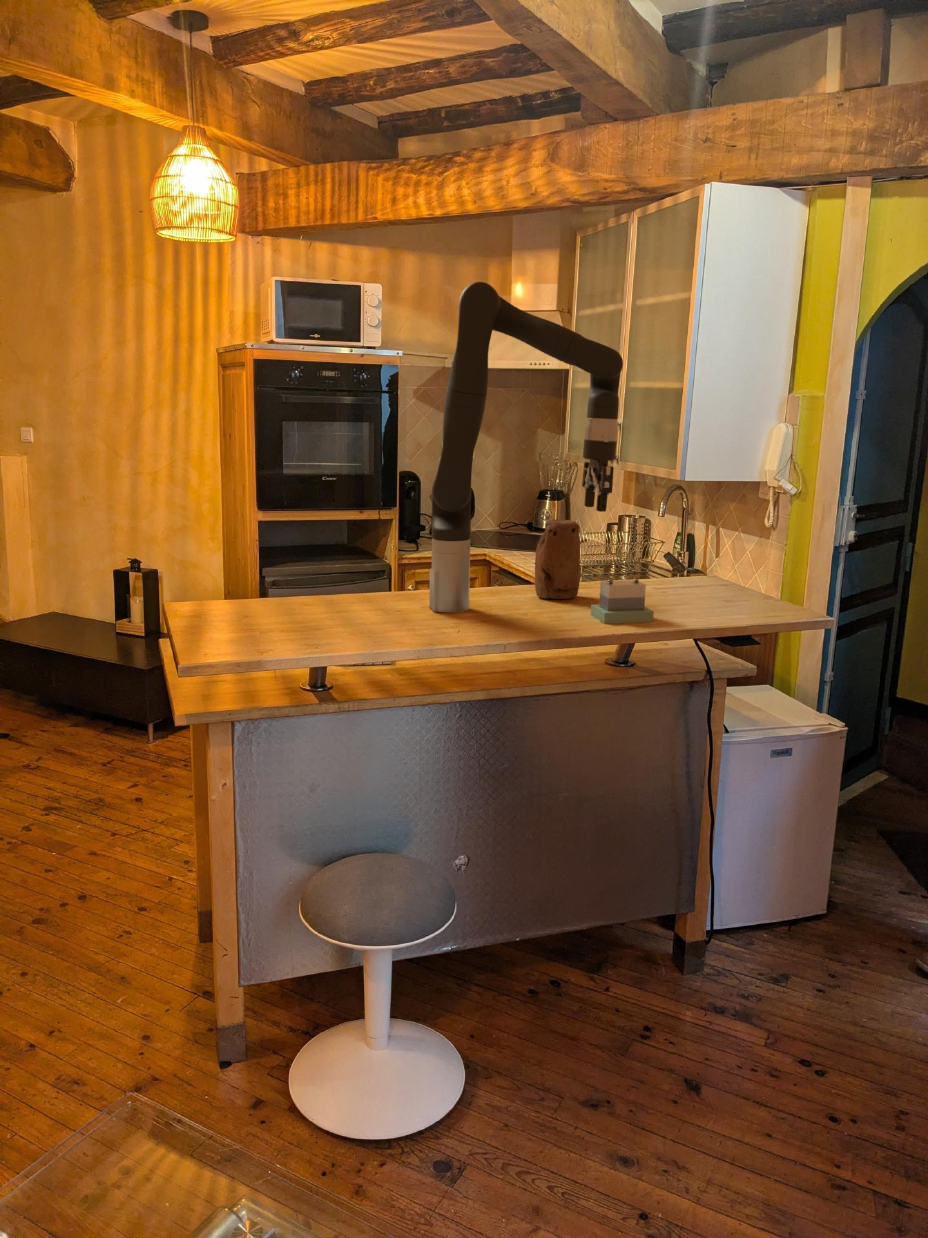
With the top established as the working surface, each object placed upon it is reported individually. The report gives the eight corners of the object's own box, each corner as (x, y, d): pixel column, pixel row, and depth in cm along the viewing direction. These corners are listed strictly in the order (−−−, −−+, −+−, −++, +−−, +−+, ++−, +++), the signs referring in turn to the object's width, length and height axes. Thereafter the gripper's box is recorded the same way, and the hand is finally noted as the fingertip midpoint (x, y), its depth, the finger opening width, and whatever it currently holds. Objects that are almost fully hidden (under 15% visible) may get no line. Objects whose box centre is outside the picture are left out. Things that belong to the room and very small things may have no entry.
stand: (604, 623, 218) (604, 612, 217) (590, 615, 226) (591, 604, 226) (653, 621, 220) (653, 611, 220) (638, 613, 229) (638, 603, 228)
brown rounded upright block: (569, 593, 251) (573, 518, 246) (581, 599, 244) (584, 521, 239) (531, 595, 248) (533, 519, 243) (541, 601, 241) (544, 522, 236)
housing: (607, 611, 219) (609, 582, 218) (599, 606, 224) (600, 578, 223) (644, 609, 221) (645, 581, 220) (635, 604, 226) (636, 577, 225)
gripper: (575, 436, 224) (570, 505, 228) (595, 439, 210) (589, 512, 214) (605, 437, 226) (600, 506, 229) (627, 440, 212) (621, 513, 216)
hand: (595, 509), depth 222 cm, fingers open, 8 cm apart
